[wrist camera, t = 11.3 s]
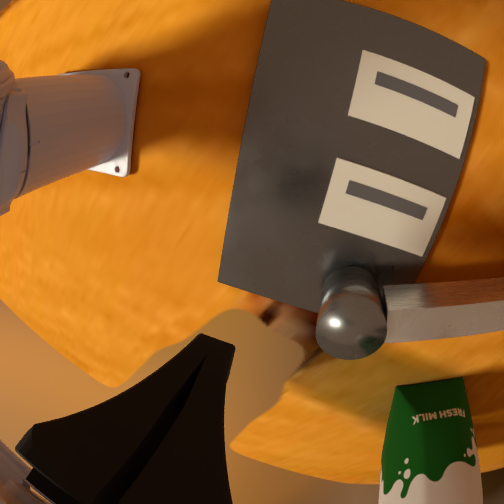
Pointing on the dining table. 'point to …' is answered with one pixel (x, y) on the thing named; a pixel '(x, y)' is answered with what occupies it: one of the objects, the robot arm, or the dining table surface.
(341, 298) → the bar
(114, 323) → the dining table surface
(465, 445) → the milk carton
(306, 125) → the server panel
